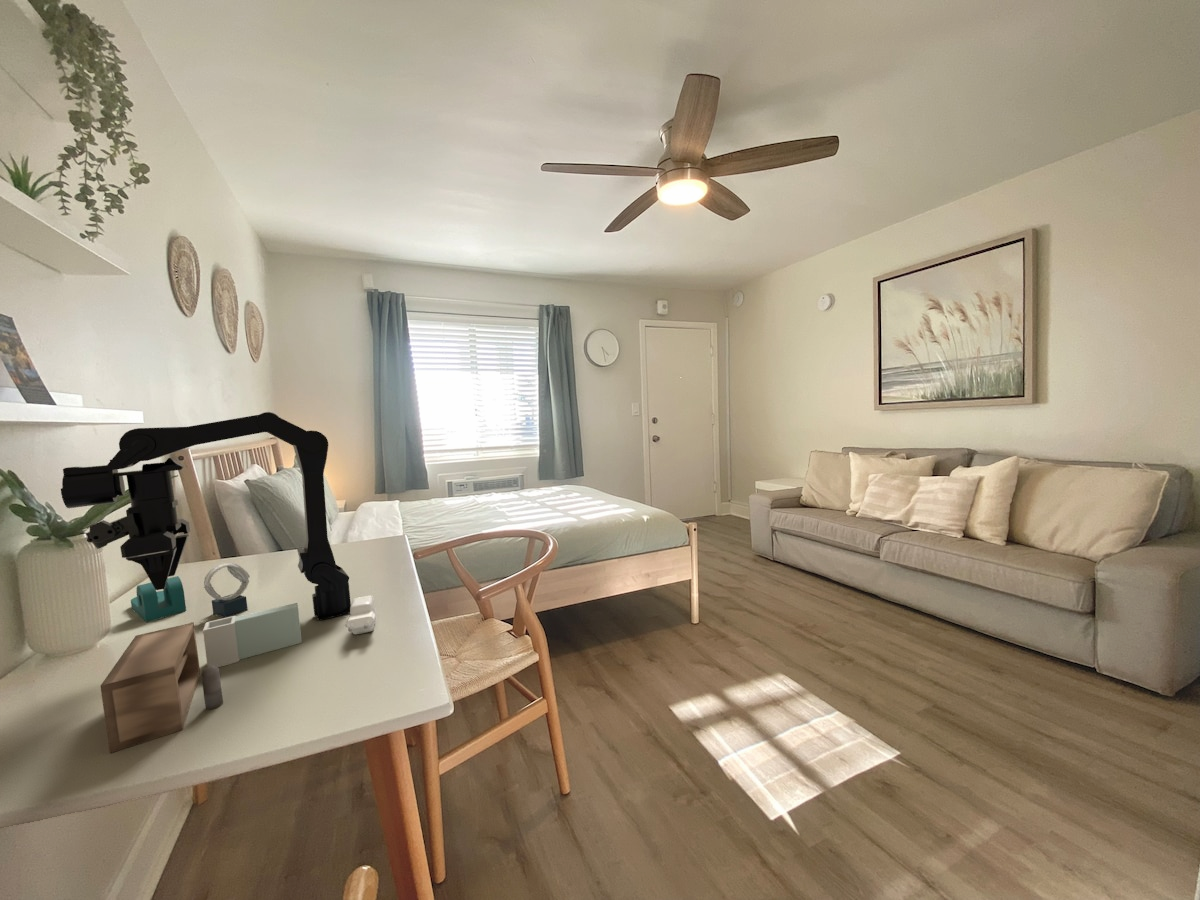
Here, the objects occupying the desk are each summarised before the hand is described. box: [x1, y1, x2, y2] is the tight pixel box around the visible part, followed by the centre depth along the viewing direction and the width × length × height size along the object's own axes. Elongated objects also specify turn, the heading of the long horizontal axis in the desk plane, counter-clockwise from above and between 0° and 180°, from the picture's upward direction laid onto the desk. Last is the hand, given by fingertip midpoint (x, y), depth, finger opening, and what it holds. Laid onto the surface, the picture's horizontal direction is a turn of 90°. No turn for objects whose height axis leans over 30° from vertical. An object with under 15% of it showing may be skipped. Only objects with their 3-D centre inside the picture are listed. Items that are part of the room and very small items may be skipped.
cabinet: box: [100, 622, 224, 754], centre depth 70 cm, size 11×18×9 cm, turn 35°
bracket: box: [130, 576, 187, 623], centre depth 110 cm, size 18×7×8 cm, turn 54°
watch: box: [203, 562, 250, 618], centre depth 106 cm, size 6×8×11 cm
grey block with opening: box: [202, 602, 303, 668], centre depth 85 cm, size 14×4×7 cm, turn 125°
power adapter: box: [345, 595, 376, 635], centre depth 90 cm, size 11×5×6 cm, turn 21°
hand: (165, 582), depth 85 cm, fingers open, 9 cm apart
